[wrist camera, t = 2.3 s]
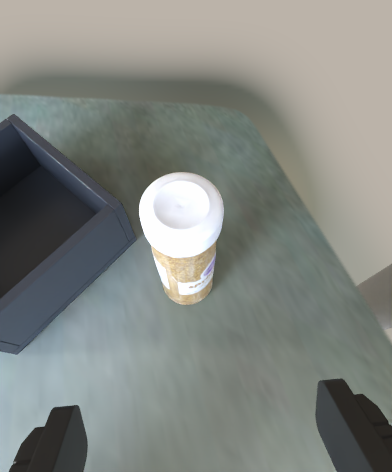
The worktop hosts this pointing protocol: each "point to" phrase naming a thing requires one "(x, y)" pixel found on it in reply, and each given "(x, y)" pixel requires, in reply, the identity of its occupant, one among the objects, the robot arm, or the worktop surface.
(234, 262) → the worktop surface
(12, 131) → the open box
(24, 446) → the robot arm
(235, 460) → the worktop surface
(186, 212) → the sprinkles bottle
